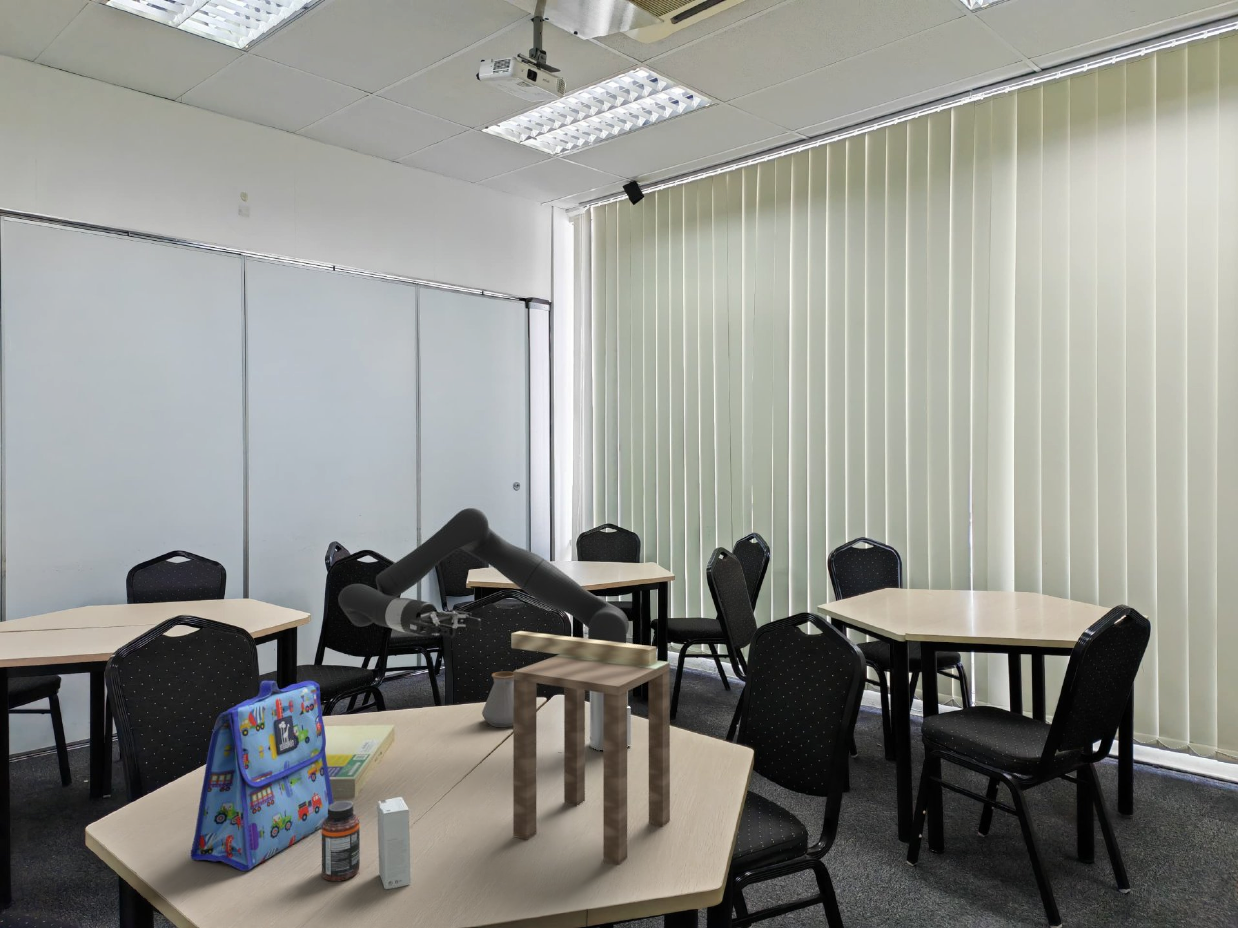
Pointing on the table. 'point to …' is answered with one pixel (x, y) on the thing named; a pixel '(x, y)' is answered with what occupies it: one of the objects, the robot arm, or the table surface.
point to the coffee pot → (500, 700)
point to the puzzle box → (355, 755)
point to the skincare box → (394, 843)
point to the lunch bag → (264, 777)
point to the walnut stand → (575, 680)
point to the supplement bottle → (340, 842)
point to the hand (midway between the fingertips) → (467, 627)
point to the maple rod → (584, 647)
